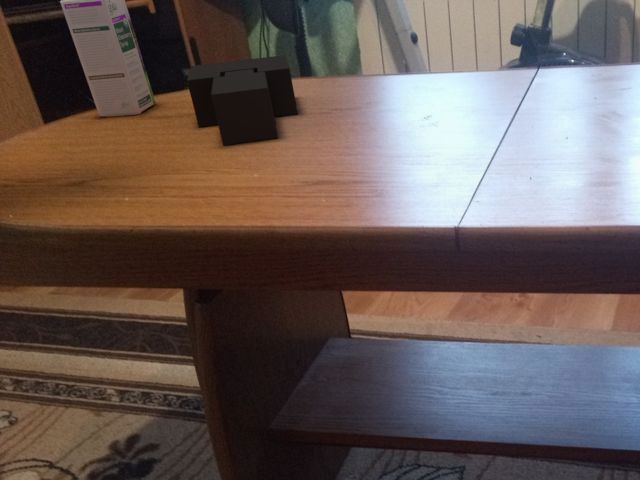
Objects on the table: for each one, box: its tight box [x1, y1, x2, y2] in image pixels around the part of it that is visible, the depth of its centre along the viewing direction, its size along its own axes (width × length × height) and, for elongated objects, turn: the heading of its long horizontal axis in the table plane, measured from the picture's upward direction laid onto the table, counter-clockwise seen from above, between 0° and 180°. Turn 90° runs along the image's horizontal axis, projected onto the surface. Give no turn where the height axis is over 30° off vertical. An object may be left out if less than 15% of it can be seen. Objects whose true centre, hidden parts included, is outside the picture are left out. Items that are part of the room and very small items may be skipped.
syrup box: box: [59, 0, 157, 117], centre depth 96 cm, size 6×6×14 cm
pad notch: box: [186, 54, 299, 128], centre depth 93 cm, size 12×10×6 cm
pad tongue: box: [211, 69, 279, 146], centre depth 85 cm, size 6×13×6 cm, turn 15°
